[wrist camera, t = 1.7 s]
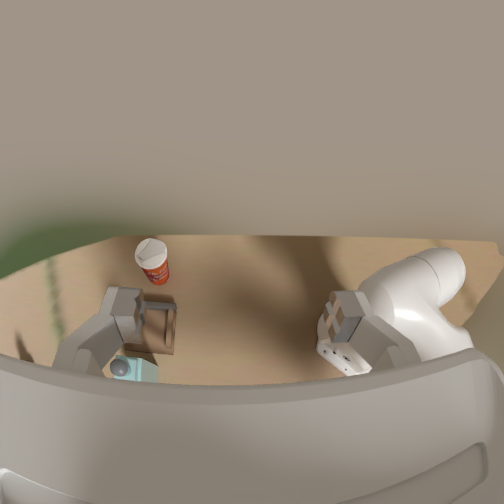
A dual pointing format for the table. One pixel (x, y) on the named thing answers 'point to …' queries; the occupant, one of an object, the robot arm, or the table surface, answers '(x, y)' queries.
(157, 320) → the brown square frame
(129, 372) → the bottle
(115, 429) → the robot arm
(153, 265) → the paper cup
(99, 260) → the table surface
